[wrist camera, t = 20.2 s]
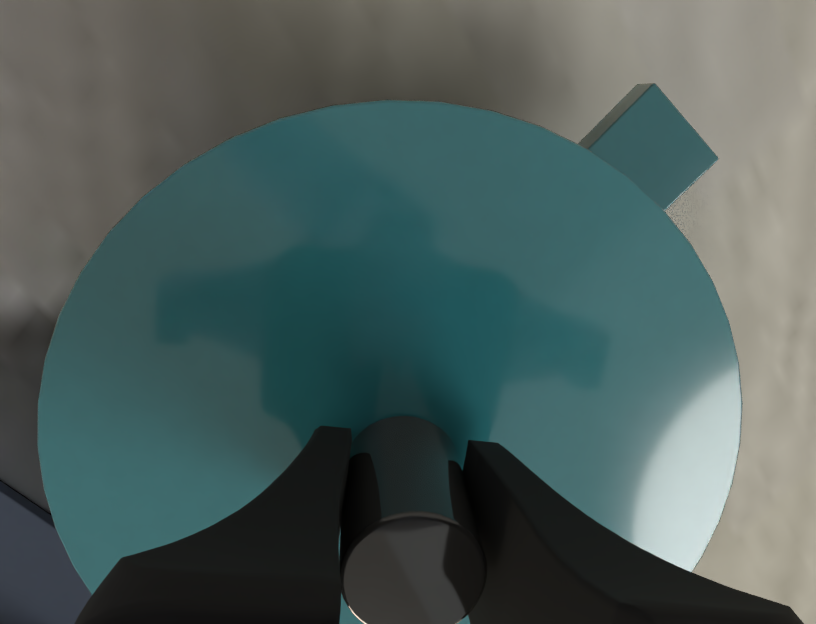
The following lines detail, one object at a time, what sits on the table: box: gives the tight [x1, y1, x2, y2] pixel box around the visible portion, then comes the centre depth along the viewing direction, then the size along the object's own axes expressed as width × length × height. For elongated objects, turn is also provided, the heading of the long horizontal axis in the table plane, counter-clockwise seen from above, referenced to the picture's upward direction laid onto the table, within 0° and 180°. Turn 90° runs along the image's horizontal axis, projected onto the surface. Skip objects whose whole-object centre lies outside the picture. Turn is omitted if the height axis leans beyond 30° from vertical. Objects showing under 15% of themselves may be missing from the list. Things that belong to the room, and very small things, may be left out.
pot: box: [578, 83, 718, 211], centre depth 18 cm, size 14×19×4 cm
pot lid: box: [38, 100, 742, 624], centre depth 13 cm, size 15×15×5 cm
